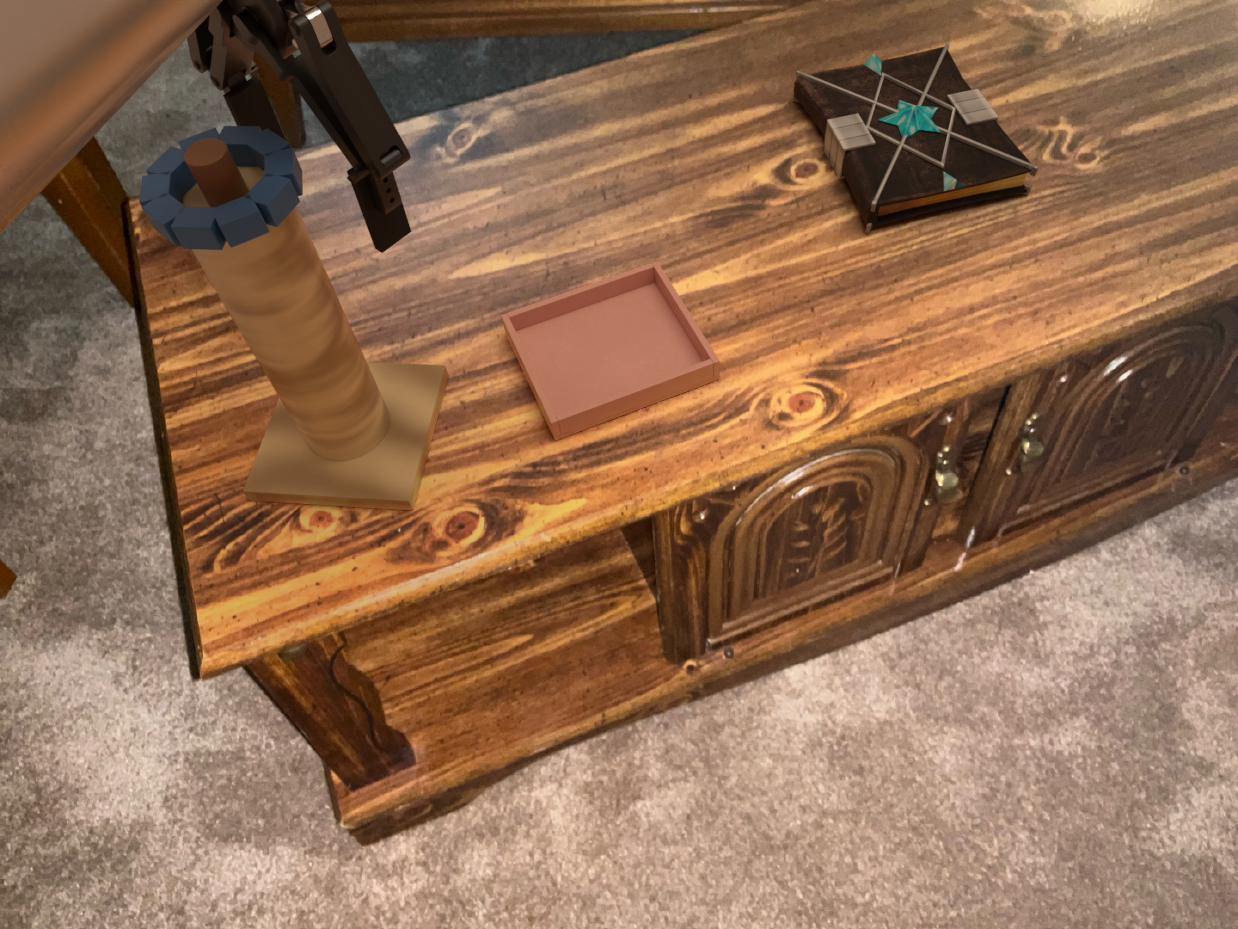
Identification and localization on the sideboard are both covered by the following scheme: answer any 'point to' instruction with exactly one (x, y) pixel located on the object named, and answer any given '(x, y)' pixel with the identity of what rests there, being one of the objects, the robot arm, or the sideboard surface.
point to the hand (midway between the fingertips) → (332, 201)
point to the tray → (609, 349)
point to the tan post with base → (314, 364)
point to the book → (911, 136)
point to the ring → (235, 217)
